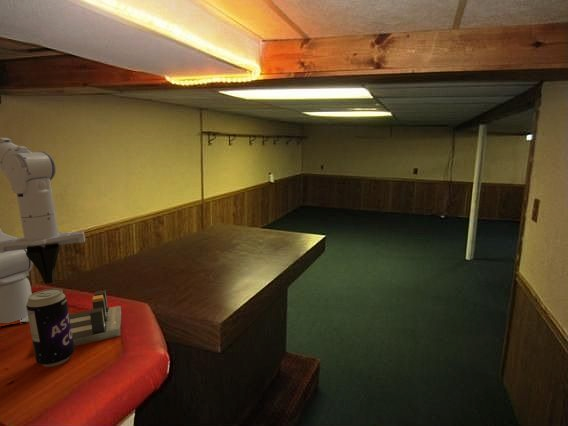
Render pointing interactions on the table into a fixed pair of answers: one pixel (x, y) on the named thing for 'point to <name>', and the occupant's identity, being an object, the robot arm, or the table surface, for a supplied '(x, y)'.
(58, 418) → the table surface
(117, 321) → the panel
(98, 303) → the breaker
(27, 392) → the table surface
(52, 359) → the beverage can
